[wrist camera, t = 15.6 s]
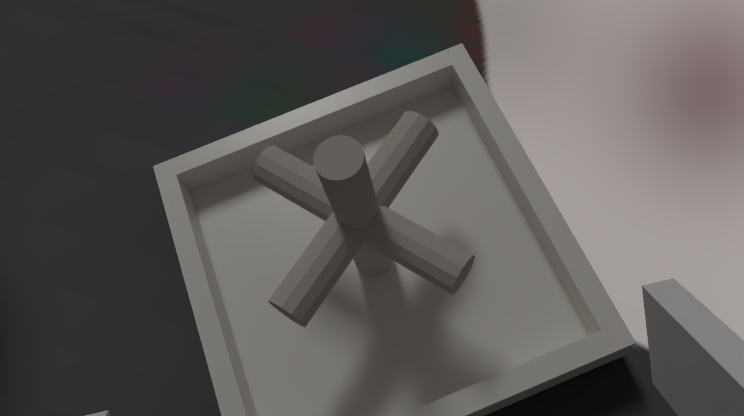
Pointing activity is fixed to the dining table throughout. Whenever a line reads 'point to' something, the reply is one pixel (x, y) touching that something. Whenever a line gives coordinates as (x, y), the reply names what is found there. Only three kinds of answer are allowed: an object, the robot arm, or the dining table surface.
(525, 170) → the tray
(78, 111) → the dining table surface
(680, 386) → the robot arm
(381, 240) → the pipe connector
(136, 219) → the dining table surface
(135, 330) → the dining table surface
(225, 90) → the dining table surface
